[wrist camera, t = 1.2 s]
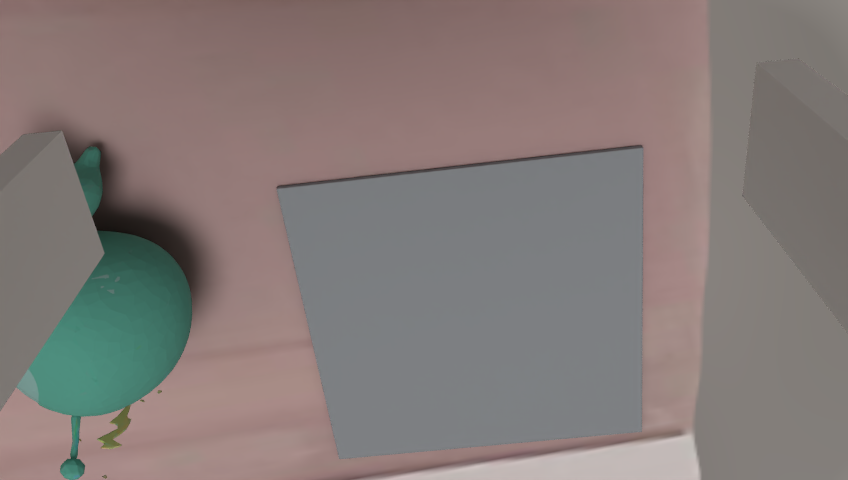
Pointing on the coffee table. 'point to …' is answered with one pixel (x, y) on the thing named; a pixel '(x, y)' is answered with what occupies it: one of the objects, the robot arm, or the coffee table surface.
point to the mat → (475, 301)
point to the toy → (112, 330)
